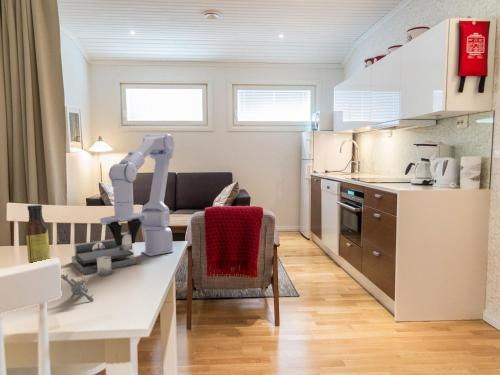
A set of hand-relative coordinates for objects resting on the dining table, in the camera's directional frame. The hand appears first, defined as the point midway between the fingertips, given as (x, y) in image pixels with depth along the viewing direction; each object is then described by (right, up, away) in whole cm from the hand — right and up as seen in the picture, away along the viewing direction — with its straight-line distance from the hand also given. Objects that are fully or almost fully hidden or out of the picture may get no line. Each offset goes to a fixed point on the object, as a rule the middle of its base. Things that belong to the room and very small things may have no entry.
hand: (125, 244), depth 114 cm
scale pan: (-8, -4, +3) cm, 9 cm away
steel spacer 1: (-4, -8, -6) cm, 11 cm away
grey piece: (-3, -10, -25) cm, 27 cm away
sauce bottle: (-30, -8, +4) cm, 31 cm away
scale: (-9, -7, +5) cm, 13 cm away
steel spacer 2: (0, -2, 0) cm, 2 cm away
